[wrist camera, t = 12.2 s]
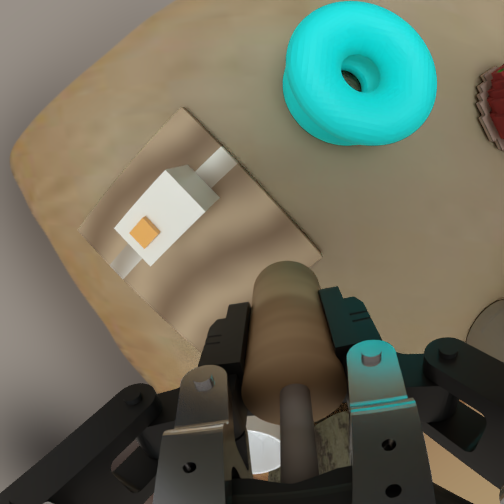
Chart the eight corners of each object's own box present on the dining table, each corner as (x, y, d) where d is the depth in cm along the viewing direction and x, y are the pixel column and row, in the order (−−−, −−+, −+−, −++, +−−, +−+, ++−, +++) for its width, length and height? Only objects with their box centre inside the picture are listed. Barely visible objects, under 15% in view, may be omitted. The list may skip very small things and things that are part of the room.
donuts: (444, 21, 13) (437, 161, 17) (394, 54, 23) (385, 155, 26) (294, -19, 14) (277, 129, 17) (288, 32, 23) (276, 136, 26)
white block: (219, 197, 27) (203, 213, 21) (173, 242, 29) (147, 269, 22) (187, 164, 26) (162, 170, 20) (143, 211, 28) (110, 230, 22)
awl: (323, 313, 14) (366, 503, 5) (260, 324, 14) (246, 517, 6) (314, 254, 13) (374, 444, 4) (246, 267, 13) (211, 463, 5)
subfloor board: (320, 252, 29) (322, 256, 28) (202, 345, 33) (200, 352, 32) (185, 108, 26) (181, 106, 25) (83, 227, 30) (77, 230, 29)
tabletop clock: (309, 454, 39) (315, 607, 15) (263, 430, 37) (251, 604, 14) (391, 402, 35) (443, 571, 11) (350, 370, 33) (398, 578, 10)
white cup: (209, 395, 36) (193, 458, 26) (236, 351, 33) (224, 419, 24) (266, 417, 37) (263, 480, 27) (299, 377, 34) (304, 445, 25)
